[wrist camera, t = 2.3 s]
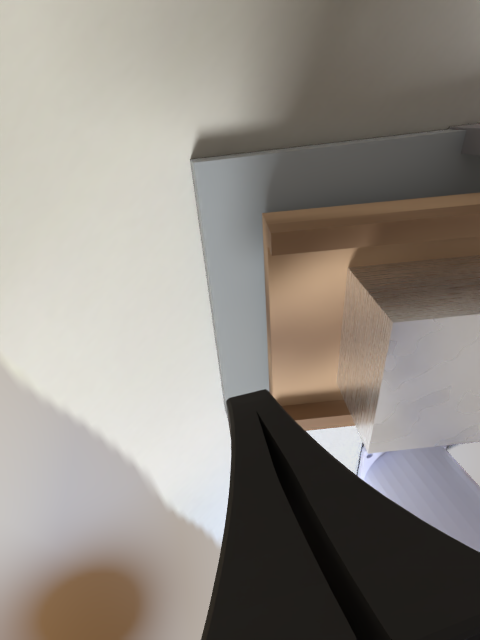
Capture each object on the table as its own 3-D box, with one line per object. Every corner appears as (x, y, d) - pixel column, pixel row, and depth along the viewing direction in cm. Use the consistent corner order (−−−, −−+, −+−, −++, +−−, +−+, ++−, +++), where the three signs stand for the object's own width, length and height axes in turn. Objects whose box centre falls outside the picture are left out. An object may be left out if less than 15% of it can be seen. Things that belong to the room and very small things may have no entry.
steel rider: (459, 369, 17) (521, 437, 13) (336, 382, 17) (367, 453, 13) (499, 252, 14) (594, 302, 10) (347, 267, 13) (392, 322, 10)
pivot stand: (567, 326, 26) (660, 373, 21) (225, 411, 21) (249, 493, 17) (684, 99, 18) (869, 96, 13) (189, 156, 14) (216, 180, 9)
